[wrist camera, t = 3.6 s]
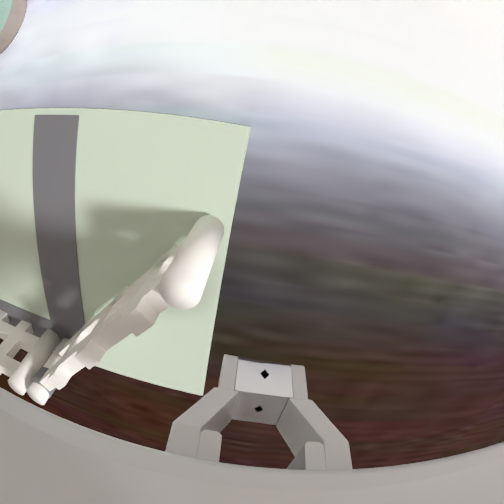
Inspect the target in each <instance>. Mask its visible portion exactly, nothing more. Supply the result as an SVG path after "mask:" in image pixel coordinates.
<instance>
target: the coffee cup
mask: <svg viewBox="0 0 504 504" xmlns="http://www.w3.org/2000/svg"><path fill="white" fill-rule="evenodd" d="M26 7H27V0H0V53H2V52H3V51H4V50H5V49H6V48H7V47H8V45H9V44H10V43H11V42H12V40H13V39H14V37H15V36H16V34H17V32H18V30H19V28H20V26H21V24H22V21H23V19H24V16H25V12H26Z"/></svg>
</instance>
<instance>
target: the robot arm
mask: <svg viewBox="0 0 504 504" xmlns="http://www.w3.org/2000/svg"><path fill="white" fill-rule="evenodd" d="M231 419H234V420H242V421H251V422H259V423H266V424H273V425H276V427H277V429H278V430H279V432H280V433H281V435H282V437H283V438H284V440H285V441H286V443H287V445H288V446H289V448H290V449H291V451H292V453H293V454H294V456H295V458H294V460H293V461H292V462H291V463H290V465H289V466H288V467H287V469H275V468H262V467H251V466H242V465H234V464H227V463H220V462H219V455H220V447H221V438H222V435H221V434H220V432H221V431H222V430H223V429H224V428H225V427H226V425H227V424H228V423H229V422H230V421H231ZM0 504H504V442H502V443H499V444H496V445H492V446H489V447H486V448H482V449H478V450H475V451H471V452H467V453H463V454H459V455H454V456H450V457H445V458H440V459H435V460H430V461H424V462H418V463H411V464H404V465H397V466H388V467H378V468H366V469H352V463H351V456H350V450H349V443H348V441H347V440H346V438H345V437H344V436H343V435H342V434H341V433H340V432H339V431H338V429H337V428H336V427H335V426H334V425H333V424H332V423H331V422H330V420H329V419H328V418H327V417H326V416H325V415H324V414H323V412H322V411H321V410H320V409H319V408H318V407H317V405H316V404H315V403H314V402H313V401H312V400H308V393H307V384H306V375H305V368H304V366H299V365H290V364H282V363H274V362H267V361H259V360H253V359H248V358H242V357H236V356H231V355H226V354H224V357H223V362H222V368H221V373H220V378H219V384H218V388H215V387H214V388H213V389H212V390H211V391H210V392H209V393H207V394H206V395H205V396H204V397H203V398H201V399H200V400H199V401H198V402H197V403H195V404H194V405H193V406H192V407H191V408H189V409H188V410H187V411H186V412H185V413H183V414H182V415H181V416H180V417H178V418H177V419H176V420H175V421H173V424H172V428H171V431H170V435H169V439H168V443H167V447H166V451H165V452H164V451H160V450H156V449H152V448H148V447H144V446H141V445H137V444H134V443H130V442H127V441H124V440H120V439H117V438H114V437H111V436H108V435H105V434H102V433H99V432H97V431H94V430H91V429H88V428H86V427H83V426H80V425H78V424H75V423H73V422H70V421H68V420H66V419H63V418H61V417H59V416H56V415H54V414H52V413H50V412H47V411H45V410H43V409H41V408H39V407H37V406H35V405H33V404H31V403H29V402H27V401H25V400H23V399H21V398H19V397H17V396H15V395H13V394H11V393H10V392H8V391H6V390H4V389H2V388H1V387H0Z"/></svg>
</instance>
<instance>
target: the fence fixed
mask: <svg viewBox="0 0 504 504" xmlns="http://www.w3.org/2000/svg"><path fill="white" fill-rule="evenodd" d="M9 322H10V321H9V318H8V314H7V313H6V312H4V311H2V310H0V338H1V339H3V340H4V341H3V342H2V343H1V344H0V375H1V373H3V374H5V375H7V376H9V377H10V378H9V380H8V383H9V385H10V387H11V388H12V389H13V390H14V391H15V392H17V393H18V394H20V395H24V394H25V392H26V391H27V389H28V388H29V386H30V385H31V382H32V380H33V379H34V377H35V376H36V374H37V373H38V371H39V370H40V368H41V367H43V365H44V364H45V362H46V361H47V360H48V358H49V357H50V355H51V354H52V353H53V351H54V350H55V348H56V347H57V346H58V344H59V343H60V338H59V336H58V335H57V333H56V332H54V331H53V330H51V329H47V330H46V331H45V332H44V333H43V334H42V336H41V337H40V338H39V337H37V336H34V335H32V334H33V333H34V332H33V328H32V325H31V323H28V322H26V321H24V320H21V321H20V322H19V324H18V325H17V326H16V327H14V326H12V325H10V324H8V323H9ZM20 349H23V350H25V351H27V352H28V354H27V355H26V356H25V358H24V359H23V360H22V362H21V363H20V362H18V361H16V360H14V359H13V358H14V356H15V355H16V354H17V352H18V351H19V350H20Z"/></svg>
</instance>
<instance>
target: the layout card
mask: <svg viewBox="0 0 504 504" xmlns="http://www.w3.org/2000/svg"><path fill="white" fill-rule="evenodd" d="M250 130H251V127H250V126H245V125H239V124H234V123H228V122H222V121H216V120H209V119H203V118H196V117H188V116H181V115H172V114H163V113H154V112H143V111H131V110H117V109H97V108H25V109H7V110H0V310H2V311H4V312H6V313H7V314H8V318H9V321H10V322H9V323H8V324H10V325H12V326H14V327H16V326H17V325H18V324H19V322H20V321H21V320H24V321H26V322H28V323H31V325H32V328H33V332H34V333H33V334H32V335H34V336H37V337H39V338H40V337H41V336H42V334H43V333H44V332H45V331H46V330H47V329H51V330H53V331H54V332H56V333H57V335H58V336H59V338H60V342H61V341H62V339H64V338H67V339H71V338H72V337H73V336H74V335H75V334H76V333H78V332H79V331H80V330H81V329H82V327H83V326H84V324H85V323H86V322H87V321H88V320H89V319H90V318H91V317H93V316H94V317H95V316H96V315H97V314H99V313H100V312H101V311H102V310H103V309H104V308H105V307H106V306H108V305H109V304H110V303H111V302H112V301H113V300H114V298H115V297H116V296H117V294H118V293H119V292H121V291H122V290H123V289H124V288H125V287H126V286H127V285H128V286H131V285H132V284H133V283H134V282H135V281H136V280H138V279H139V278H140V277H141V276H142V275H143V274H145V273H146V272H147V271H148V270H149V269H150V268H152V267H153V266H154V265H155V264H156V263H157V262H158V261H159V259H160V258H161V256H163V255H164V254H165V253H166V252H167V251H169V250H170V249H171V248H172V247H173V246H175V245H176V246H178V245H179V244H181V243H182V242H183V241H184V240H185V239H186V237H187V236H188V234H189V232H190V231H191V229H192V228H193V226H194V225H195V223H196V221H197V220H198V219H199V218H200V217H202V216H205V215H212V216H215V217H217V218H218V219H219V220H220V221H221V222H222V223H223V226H224V235H223V237H222V240H221V243H220V246H219V248H218V251H217V254H216V257H215V260H214V262H213V265H212V268H211V271H210V274H209V277H208V279H207V282H206V285H205V288H204V291H203V294H202V297H201V299H200V301H199V303H198V304H197V305H196V306H195V307H193V308H190V309H177V308H174V307H172V306H169V307H168V308H167V309H165V310H164V311H162V312H161V313H159V315H158V317H157V319H156V321H155V324H154V325H153V326H152V327H150V328H149V329H148V330H146V331H145V332H143V333H142V334H140V335H139V336H137V337H136V336H135V335H134V334H133V333H131V334H130V335H128V336H127V337H126V338H124V339H123V340H121V341H120V342H119V343H117V344H116V345H114V346H113V347H112V348H110V349H109V350H107V351H106V352H105V354H104V355H103V357H102V359H101V361H100V362H99V363H98V364H96V365H95V366H97V367H100V368H103V369H106V370H109V371H112V372H115V373H118V374H121V375H125V376H128V377H131V378H135V379H138V380H141V381H145V382H149V383H152V384H156V385H160V386H164V387H167V388H171V389H176V390H180V391H184V392H188V393H193V394H197V395H202V396H203V392H204V385H205V379H206V372H207V366H208V360H209V353H210V347H211V341H212V335H213V329H214V323H215V317H216V311H217V305H218V299H219V294H220V288H221V282H222V276H223V271H224V265H225V260H226V254H227V248H228V243H229V238H230V232H231V227H232V221H233V216H234V211H235V205H236V200H237V195H238V190H239V185H240V180H241V174H242V169H243V164H244V159H245V154H246V149H247V144H248V139H249V135H250ZM59 344H60V343H59ZM59 344H58V345H59ZM56 348H57V347H56ZM56 348H55V349H56ZM54 351H55V350H54Z"/></svg>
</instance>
